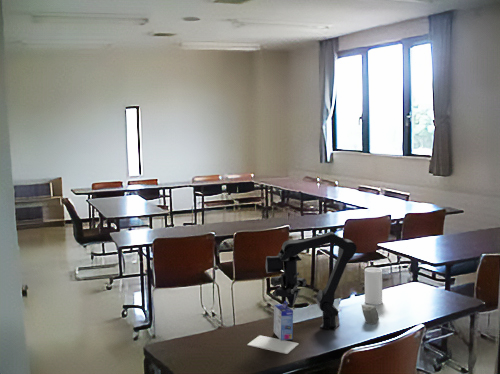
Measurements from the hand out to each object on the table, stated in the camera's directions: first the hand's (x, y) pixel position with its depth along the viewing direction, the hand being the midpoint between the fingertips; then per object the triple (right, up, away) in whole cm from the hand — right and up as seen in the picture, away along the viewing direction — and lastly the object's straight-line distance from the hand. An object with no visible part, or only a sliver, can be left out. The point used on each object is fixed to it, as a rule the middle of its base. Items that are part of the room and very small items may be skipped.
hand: (291, 306), depth 227 cm
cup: (+42, -5, +32) cm, 53 cm away
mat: (-8, -12, -13) cm, 20 cm away
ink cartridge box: (-4, -11, -5) cm, 13 cm away
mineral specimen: (+35, -9, +6) cm, 36 cm away
